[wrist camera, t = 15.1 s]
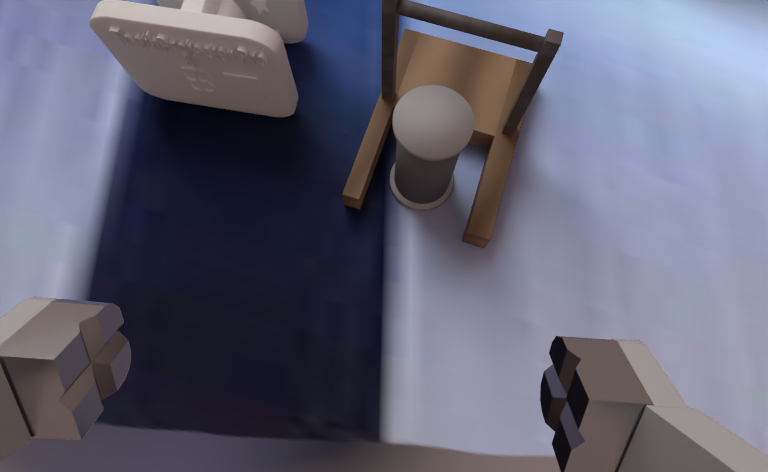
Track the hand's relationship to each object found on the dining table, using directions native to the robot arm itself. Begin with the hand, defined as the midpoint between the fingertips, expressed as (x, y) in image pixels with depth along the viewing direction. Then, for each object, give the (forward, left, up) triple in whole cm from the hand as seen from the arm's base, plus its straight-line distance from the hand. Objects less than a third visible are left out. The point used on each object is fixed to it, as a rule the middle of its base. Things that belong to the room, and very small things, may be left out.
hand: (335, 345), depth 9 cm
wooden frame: (0, +22, -31) cm, 39 cm away
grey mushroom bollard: (-1, +18, -31) cm, 36 cm away
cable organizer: (-22, +23, -32) cm, 45 cm away
